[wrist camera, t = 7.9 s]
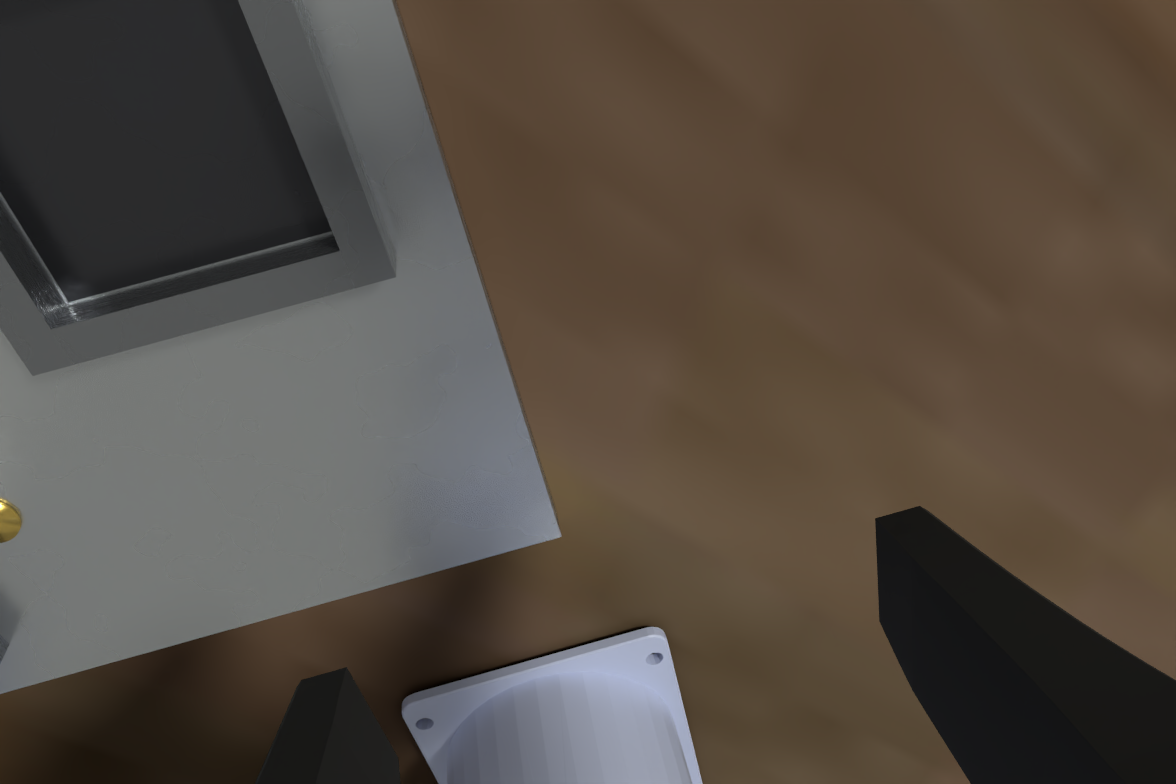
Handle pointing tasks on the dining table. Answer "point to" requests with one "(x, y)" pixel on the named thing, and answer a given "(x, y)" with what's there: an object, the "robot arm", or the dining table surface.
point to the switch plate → (234, 328)
